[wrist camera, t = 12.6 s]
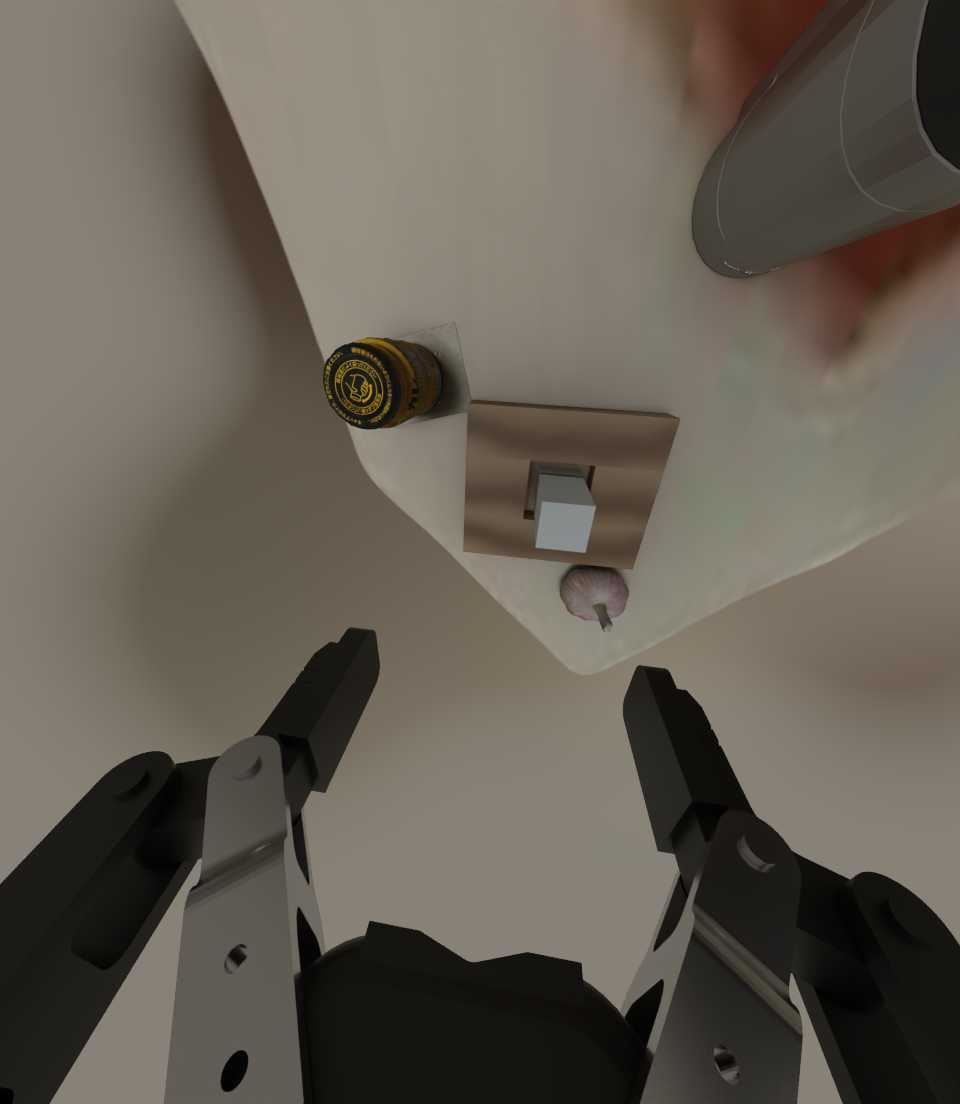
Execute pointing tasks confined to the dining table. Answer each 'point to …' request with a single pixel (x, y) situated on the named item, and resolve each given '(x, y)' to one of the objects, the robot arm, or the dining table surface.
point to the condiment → (398, 379)
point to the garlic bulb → (594, 595)
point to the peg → (562, 510)
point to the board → (568, 442)
